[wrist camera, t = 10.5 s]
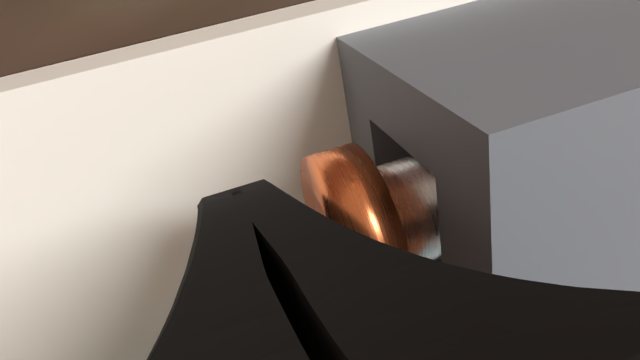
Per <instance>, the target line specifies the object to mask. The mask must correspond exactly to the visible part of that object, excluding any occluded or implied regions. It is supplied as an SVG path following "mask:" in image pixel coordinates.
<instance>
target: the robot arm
mask: <svg viewBox="0 0 640 360" xmlns="http://www.w3.org/2000/svg"><path fill="white" fill-rule="evenodd" d="M197 208H198V215H197V224H196V230H195V235H194V240H193V244H192V248H191V252H190V255H189V259H188V263H187V266H186V270H185V273H184V276H183V278H182V281H181V284H180V286H179V289H178V292H177V295H176V297H175V300H174V303H173V305H172V308H171V310H170V312H169V315H168V317H167V319H166V322H165V324H164V326H163V328H162V330H161V332H160V334H159V336H158V338H157V340H156V342H155V344H154V346H153V348H152V350H151V352H150V354H149V356H148V357H147V359H146V360H640V292H639V291H625V290H611V289H598V288H584V287H574V286H565V285H558V284H551V283H544V282H537V281H530V280H523V279H517V278H511V277H506V276H500V275H495V274H490V273H485V272H481V271H477V270H472V269H468V268H464V267H460V266H455V265H451V264H447V263H443V262H440V261H436V260H432V259H429V258H426V257H422V256H419V255H416V254H413V253H410V252H407V251H405V250H402V249H399V248H396V247H393V246H390V245H387V244H385V243H382V242H379V241H377V240H374V239H372V238H370V237H367V236H365V235H363V234H361V233H358V232H356V231H354V230H352V229H350V228H347V227H345V226H343V225H341V224H339V223H337V222H335V221H333V220H332V219H330V218H328V217H326V216H324V215H322V214H321V213H319V212H317V211H315V210H313V209H312V208H310V207H308V206H307V205H305V204H303V203H302V202H300V201H298V200H297V199H295V198H294V197H292V196H290V195H289V194H287V193H286V192H284V191H283V190H281V189H279V188H278V187H276V186H275V185H273V184H272V183H270V182H268V181H266V180H265V179H262V180H259V181H256V182H252V183H249V184H246V185H243V186H239V187H236V188H233V189H229V190H226V191H223V192H220V193H216V194H213V195H210V196H206V197H203V198H202V199H201V201H200V202H199V204H198V205H197Z"/></svg>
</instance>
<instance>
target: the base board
mask: <svg viewBox="0 0 640 360" xmlns="http://www.w3.org/2000/svg"><path fill="white" fill-rule="evenodd" d="M473 1H477V0H315V1H311V2H307V3H303V4H299V5H294V6H290V7H286V8H282V9H278V10H274V11H270V12H266V13H262V14H258V15H254V16H250V17H245V18H241V19H237V20H233V21H229V22H225V23H221V24H217V25H213V26H209V27H205V28H201V29H196V30H192V31H188V32H184V33H180V34H176V35H172V36H168V37H164V38H160V39H156V40H152V41H148V42H143V43H139V44H135V45H131V46H127V47H123V48H119V49H115V50H111V51H107V52H103V53H99V54H94V55H90V56H86V57H82V58H78V59H74V60H70V61H66V62H62V63H58V64H54V65H50V66H45V67H41V68H37V69H33V70H29V71H25V72H21V73H17V74H13V75H9V76H5V77H1V78H0V360H146V359H147V357H148V356H149V354H150V352H151V350H152V348H153V346H154V344H155V342H156V340H157V338H158V336H159V334H160V332H161V330H162V328H163V326H164V324H165V322H166V319H167V317H168V315H169V312H170V310H171V308H172V305H173V303H174V300H175V297H176V295H177V292H178V289H179V286H180V284H181V281H182V278H183V276H184V273H185V270H186V266H187V263H188V259H189V255H190V252H191V248H192V244H193V240H194V235H195V230H196V224H197V215H198V208H197V205H198V204H199V202H200V201H201V199H202V198H203V197H206V196H210V195H213V194H216V193H220V192H223V191H226V190H229V189H233V188H236V187H239V186H243V185H246V184H249V183H252V182H256V181H259V180H262V179H265V180H266V181H268V182H270V183H272V184H273V185H275V186H276V187H278V188H279V189H281V190H283V191H284V192H286V193H287V194H289V195H290V196H292V197H294V198H295V199H297V200H298V201H300V202H302V203H303V204H305V201H304V196H303V190H302V184H301V172H300V169H301V161H302V158H303V157H305V156H309V155H312V154H315V153H319V152H322V151H325V150H329V149H332V148H335V147H339V146H342V145H345V144H349V143H352V138H351V132H350V125H349V119H348V112H347V106H346V99H345V93H344V86H343V80H342V73H341V67H340V60H339V54H338V47H337V40H336V37H338V36H342V35H346V34H350V33H354V32H358V31H362V30H365V29H369V28H373V27H377V26H381V25H385V24H388V23H392V22H396V21H400V20H404V19H408V18H411V17H415V16H419V15H423V14H427V13H431V12H435V11H438V10H442V9H446V8H450V7H454V6H458V5H461V4H465V3H469V2H473Z"/></svg>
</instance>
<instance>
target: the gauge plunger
mask: <svg viewBox="0 0 640 360" xmlns="http://www.w3.org/2000/svg"><path fill="white" fill-rule="evenodd" d="M300 172H301V184H302V190H303V196H304V201H305V205H307V206H308V207H310V208H312V209H313V210H315V211H317V212H319V213H321V214H322V215H324V216H326V217H328V218H330V219H332V220H333V221H335V222H337V223H339V224H341V225H343V226H345V227H347V228H350V229H352V230H354V231H356V232H358V233H361V234H363V235H365V236H367V237H370V238H372V239H374V240H377V241H379V242H382V243H385V244H387V245H390V246H393V247H396V248H399V249H402V250H405V251H407V252H410V253H413V254H416V255H419V256H422V257H426V258H429V259H432V260H438V259H441V258H442V256H441V244H440V231H439V218H438V206H437V193H436V180H435V175H433V174H432V173H431V172H430V171H429V170H428V169H426V168H425V167H424V166H423V165H422V164H421V163H420V162H418V161H417V160H416V159H415V158H414V157H413V156H408V157H405V158H401V159H398V160H395V161H392V162H389V163H385V164H382V165H379V166H376V165H375V164H374V162H373V161H372V159H371V158H370V156H369V155H368V154H367V153H366V152H365V150H364V149H363V148H361V147H360V146H359V145H357V144H356V143H349V144H345V145H342V146H339V147H335V148H332V149H329V150H325V151H322V152H319V153H315V154H312V155H309V156H305V157H303V158H302V161H301V169H300Z"/></svg>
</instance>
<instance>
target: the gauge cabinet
mask: <svg viewBox="0 0 640 360" xmlns="http://www.w3.org/2000/svg"><path fill="white" fill-rule="evenodd" d="M336 40H337V47H338V54H339V60H340V67H341V73H342V80H343V86H344V93H345V99H346V106H347V112H348V119H349V125H350V132H351V138H352V143H356V144H357V145H359V146H360V147H361V148H363V149H364V150H365V152H366V153H367V154H368V155H369V156H370V158H371V159H372V161H373V162H374V164H375V165H376V166H379V165H382V164H385V163H389V162H392V161H395V160H398V159H401V158H405V157H408V156H413V157H414V158H415V159H416V160H417V161H418V162H420V163H421V164H422V165H423V166H424V167H425V168H426V169H428V170H429V171H430V172H431V173H432V174H433V175H435V180H436V193H437V206H438V218H439V231H440V244H441V256H442V258H441V259H438V260H436V261H440V262H443V263H447V264H451V265H455V266H460V267H464V268H468V269H472V270H477V271H481V272H485V273H490V274H495V275H500V276H506V277H511V278H517V279H523V280H530V281H537V282H544V283H551V284H558V285H565V286H574V287H584V288H598V289H611V290H625V291H639V292H640V0H477V1H473V2H469V3H465V4H461V5H458V6H454V7H450V8H446V9H442V10H438V11H435V12H431V13H427V14H423V15H419V16H415V17H411V18H408V19H404V20H400V21H396V22H392V23H388V24H385V25H381V26H377V27H373V28H369V29H365V30H362V31H358V32H354V33H350V34H346V35H342V36H338V37H336Z"/></svg>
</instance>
